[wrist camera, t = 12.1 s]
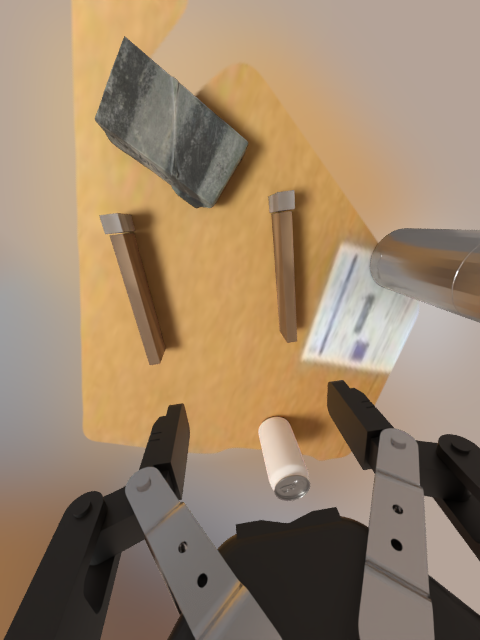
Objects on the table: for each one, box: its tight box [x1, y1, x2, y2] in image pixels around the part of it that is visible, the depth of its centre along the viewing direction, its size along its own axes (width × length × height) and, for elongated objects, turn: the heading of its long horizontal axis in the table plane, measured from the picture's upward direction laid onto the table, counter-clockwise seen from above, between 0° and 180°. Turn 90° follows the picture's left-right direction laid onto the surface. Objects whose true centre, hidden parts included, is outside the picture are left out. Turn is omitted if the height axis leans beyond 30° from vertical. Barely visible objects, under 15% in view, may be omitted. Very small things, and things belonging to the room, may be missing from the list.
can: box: [259, 417, 310, 501], centre depth 43 cm, size 6×6×12 cm
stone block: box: [95, 36, 248, 208], centre depth 28 cm, size 9×14×5 cm, turn 56°
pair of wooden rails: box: [100, 190, 297, 365], centre depth 34 cm, size 22×20×5 cm
